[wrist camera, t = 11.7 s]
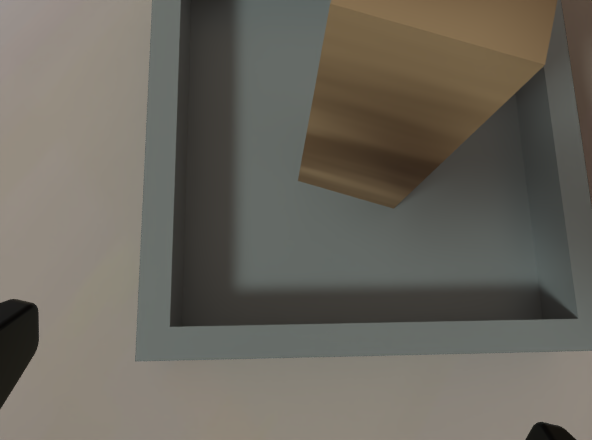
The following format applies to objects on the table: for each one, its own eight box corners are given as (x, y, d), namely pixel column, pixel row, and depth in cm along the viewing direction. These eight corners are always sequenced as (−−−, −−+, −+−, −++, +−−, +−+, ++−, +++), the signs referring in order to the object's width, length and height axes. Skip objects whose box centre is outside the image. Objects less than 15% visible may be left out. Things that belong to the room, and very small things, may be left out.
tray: (560, 346, 22) (613, 350, 19) (157, 355, 21) (135, 361, 18) (515, -5, 26) (552, -55, 22) (171, -11, 25) (155, -64, 22)
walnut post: (393, 208, 22) (545, 64, 10) (297, 180, 22) (330, 3, 10) (415, 119, 23) (578, -113, 11) (323, 93, 23) (382, -167, 11)
